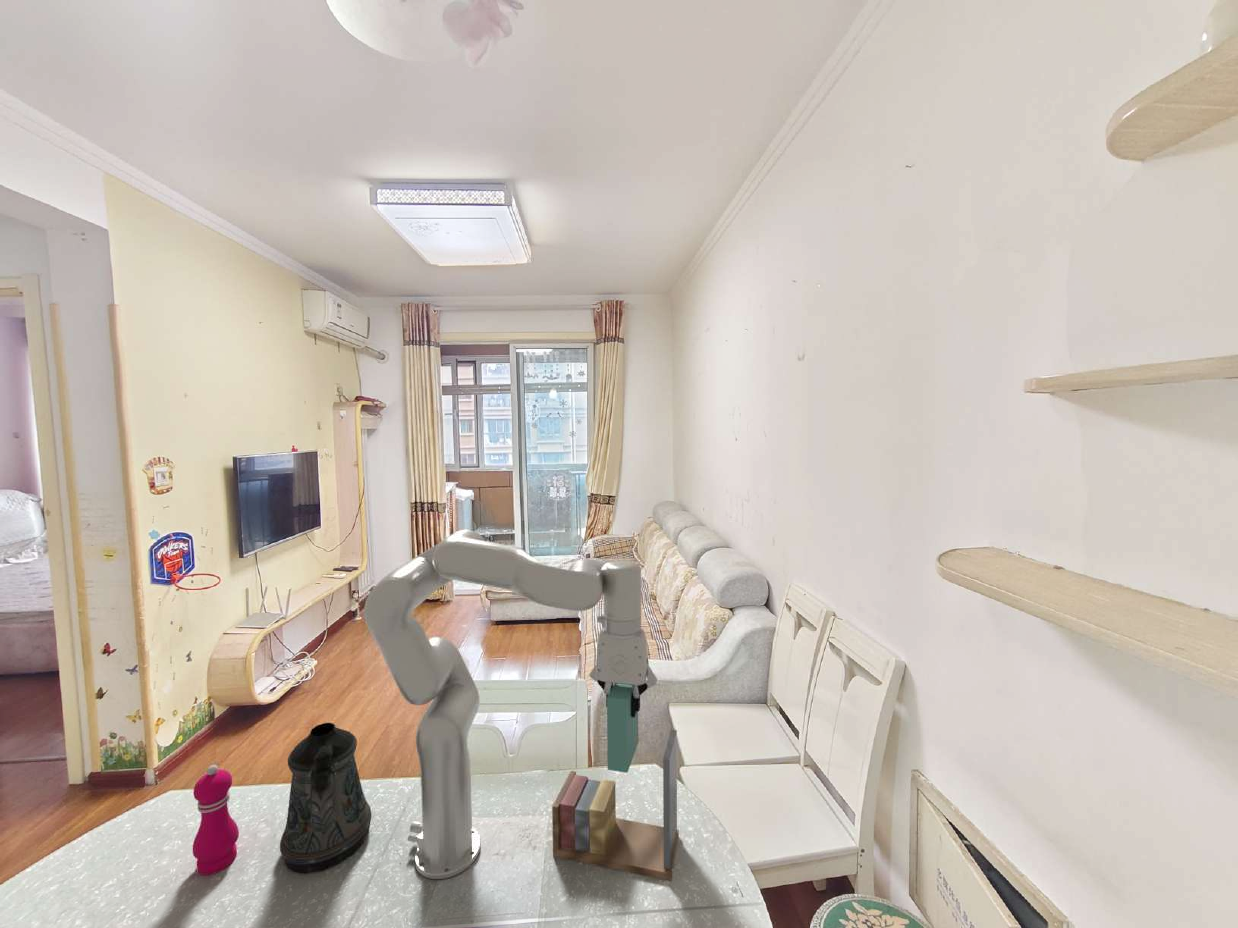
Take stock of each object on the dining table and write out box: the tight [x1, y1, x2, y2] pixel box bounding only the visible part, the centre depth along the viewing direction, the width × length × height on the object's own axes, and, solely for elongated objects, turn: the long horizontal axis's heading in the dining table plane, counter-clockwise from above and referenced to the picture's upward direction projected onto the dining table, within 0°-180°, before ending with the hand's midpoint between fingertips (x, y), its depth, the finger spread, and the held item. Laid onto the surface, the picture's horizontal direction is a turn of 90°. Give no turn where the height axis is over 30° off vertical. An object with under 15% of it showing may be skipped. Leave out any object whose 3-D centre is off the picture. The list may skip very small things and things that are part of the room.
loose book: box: [606, 683, 639, 774], centre depth 102 cm, size 4×10×14 cm, turn 166°
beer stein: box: [279, 722, 372, 875], centre depth 104 cm, size 16×19×25 cm
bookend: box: [662, 728, 678, 870], centre depth 100 cm, size 1×10×22 cm, turn 166°
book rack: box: [551, 770, 680, 882], centre depth 103 cm, size 24×11×10 cm, turn 76°
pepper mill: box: [192, 764, 240, 876], centre depth 100 cm, size 7×7×20 cm
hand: (623, 711), depth 102 cm, fingers closed on loose book, 4 cm apart
